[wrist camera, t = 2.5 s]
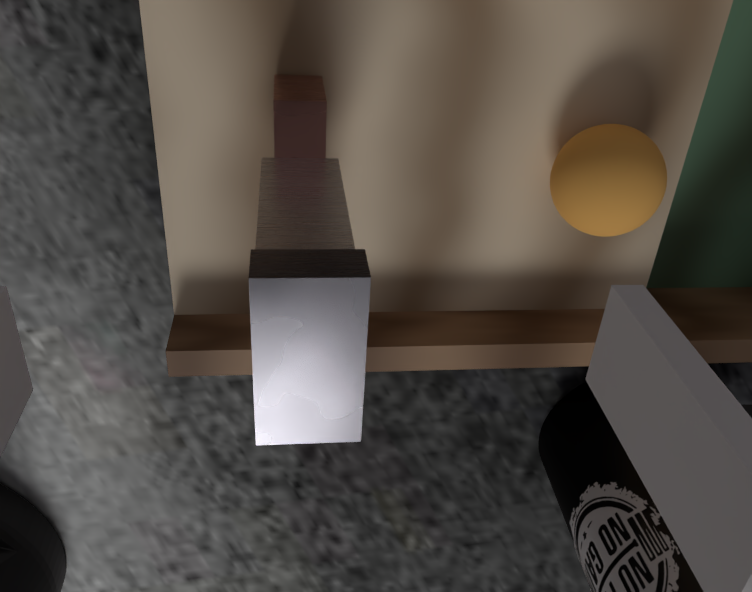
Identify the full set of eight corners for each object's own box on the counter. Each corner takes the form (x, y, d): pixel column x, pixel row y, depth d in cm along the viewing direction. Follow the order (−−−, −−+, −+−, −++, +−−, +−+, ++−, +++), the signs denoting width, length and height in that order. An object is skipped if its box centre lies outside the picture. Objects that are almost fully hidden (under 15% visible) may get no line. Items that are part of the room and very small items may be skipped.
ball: (527, 208, 28) (561, 256, 24) (546, 107, 26) (586, 145, 22) (623, 208, 28) (669, 256, 25) (649, 110, 26) (704, 147, 23)
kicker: (266, 234, 27) (256, 470, 16) (262, 74, 23) (246, 241, 13) (330, 234, 27) (359, 466, 17) (333, 76, 24) (373, 241, 13)
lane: (182, 312, 31) (167, 385, 26) (139, -108, 22) (105, -100, 18) (770, 304, 34) (838, 367, 30) (923, -61, 26) (1048, -45, 22)
